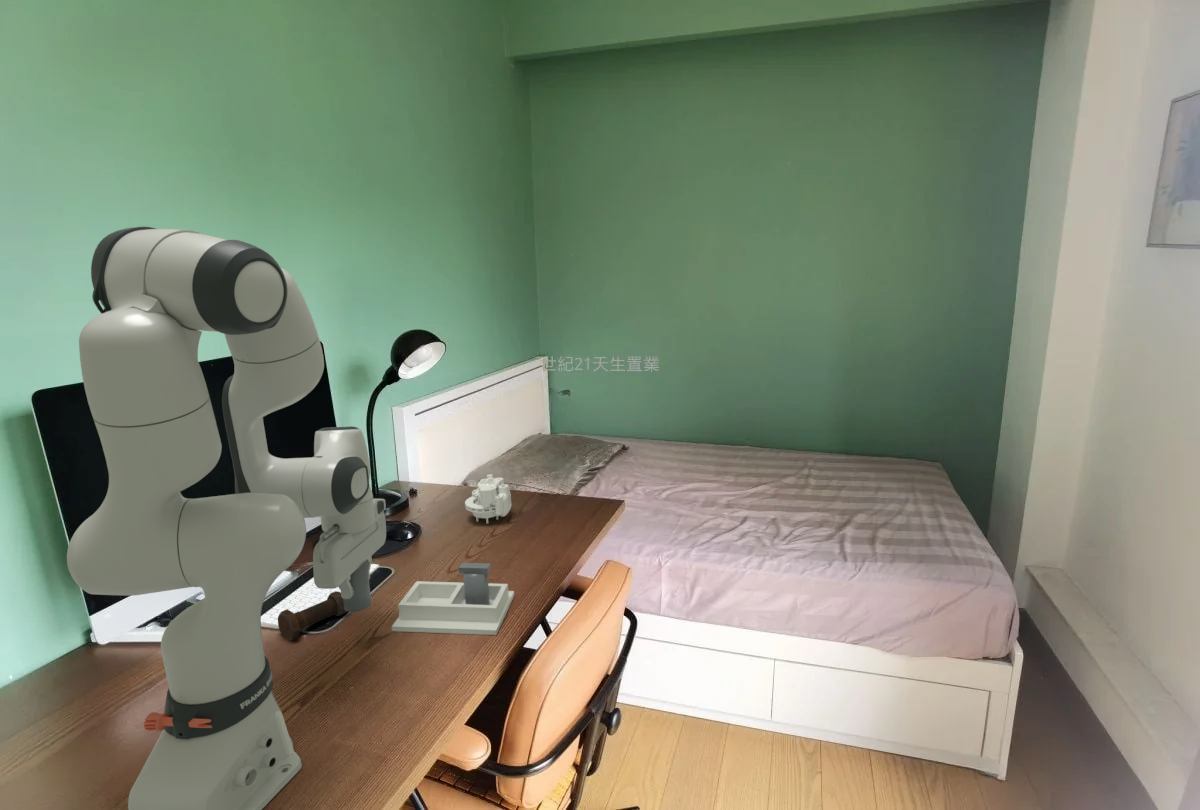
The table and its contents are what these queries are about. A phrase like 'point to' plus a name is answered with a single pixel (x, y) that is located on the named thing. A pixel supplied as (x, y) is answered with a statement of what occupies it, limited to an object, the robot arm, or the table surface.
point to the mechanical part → (490, 499)
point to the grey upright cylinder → (359, 590)
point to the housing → (456, 604)
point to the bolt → (309, 616)
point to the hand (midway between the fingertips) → (356, 589)
